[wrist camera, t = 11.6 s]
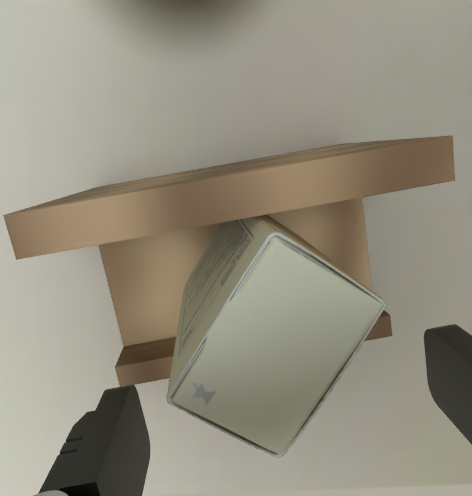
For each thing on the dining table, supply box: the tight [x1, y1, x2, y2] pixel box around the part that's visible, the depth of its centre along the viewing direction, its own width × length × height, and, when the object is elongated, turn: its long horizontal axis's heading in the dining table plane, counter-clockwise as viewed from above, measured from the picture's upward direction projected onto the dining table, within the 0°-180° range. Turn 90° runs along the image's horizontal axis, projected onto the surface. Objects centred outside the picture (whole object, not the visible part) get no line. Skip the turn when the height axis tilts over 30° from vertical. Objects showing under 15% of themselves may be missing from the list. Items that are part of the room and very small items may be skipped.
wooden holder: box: [3, 136, 455, 387], centre depth 21 cm, size 15×10×12 cm
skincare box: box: [167, 214, 386, 458], centre depth 19 cm, size 6×4×12 cm
